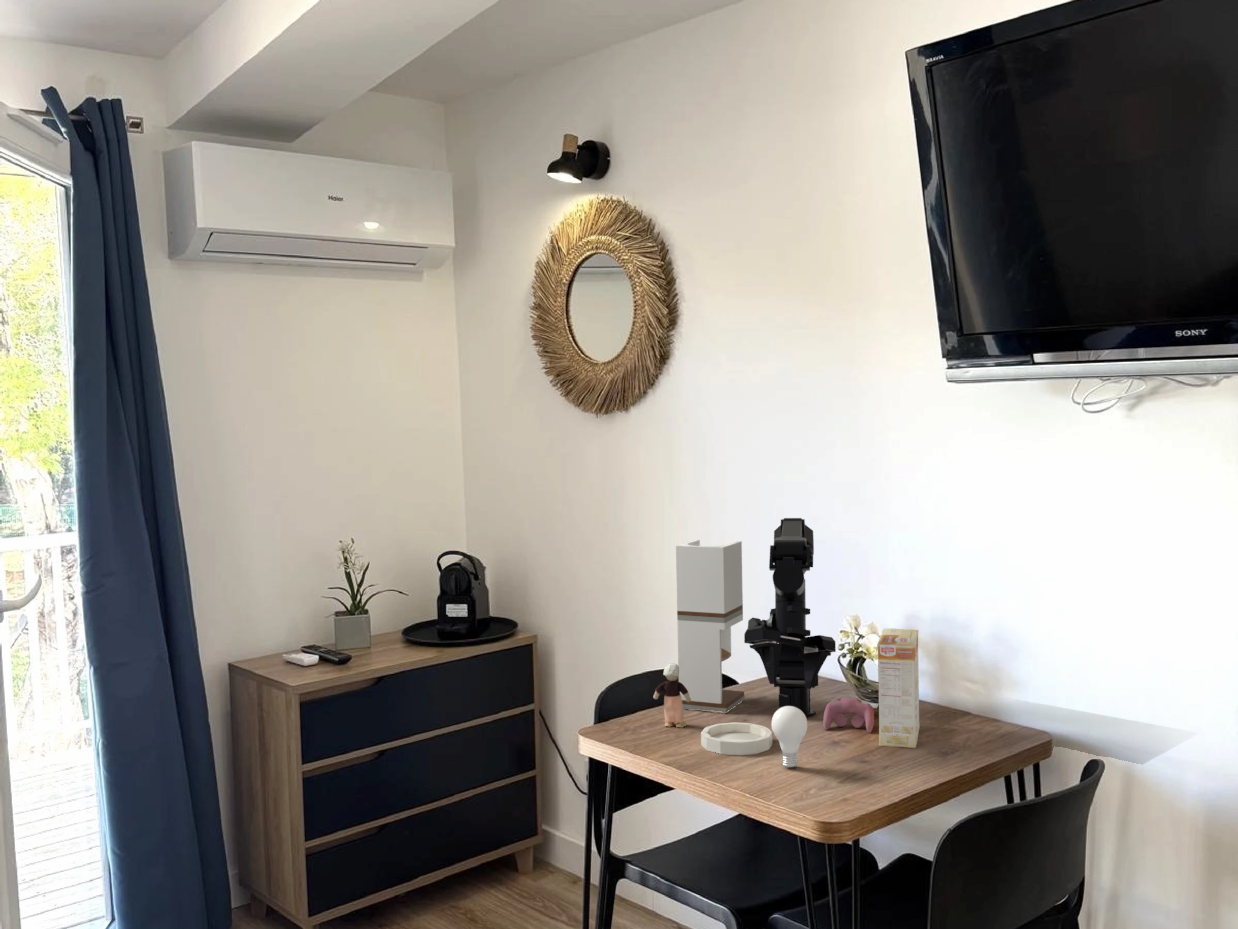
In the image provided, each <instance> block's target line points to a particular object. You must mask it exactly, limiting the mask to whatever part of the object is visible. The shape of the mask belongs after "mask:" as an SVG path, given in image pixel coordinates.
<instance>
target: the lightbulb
mask: <svg viewBox="0 0 1238 929" xmlns="http://www.w3.org/2000/svg"><path fill="white" fill-rule="evenodd" d="M775 711H776V712H775ZM775 711H774V712H775V713H774V712H773V715H772V717H771V721H770V723H771V726H770V727H771V731H772V734H774V736H775V737H776V739H777V740H778V743H779V747H780V749H781V754H782V765H783V767H786V768H787V769H793V768H796V767H797V766H798V757H799V756H798V753H799V749H800V745H801V742H802V740H803V738H804V737H805V735H806V733H807V732H808V731H807V730H808V727H809V726H808V719H807V717H806V716H805V714H804V713H803V712H802V711H801V710H800V709H798V708H797V707H794V706H784V707H781V708H780V709H779V708H778V709H777V710H775Z"/></svg>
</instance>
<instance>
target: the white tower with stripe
mask: <svg viewBox="0 0 1238 929" xmlns="http://www.w3.org/2000/svg"><path fill="white" fill-rule="evenodd" d="M742 543H743V542H742V540H741V541H740V540H739V541H738V540H737V541H735V542H734V541H733V542H732V543H728V544H724V545H723V544H722V545H714V546H712V545H709V546H703V545H701V542H700V539H695V540H691V541H687V542H685V543H681V544H678V545H676V546H675V553H676V554H675V558H676V559H675V560H676V562H675V567H676V568H675V569H676V605H677V606H676V607H677V608H676V609H677V610H676V614H677V615H676V616H677V622H676V623H677V662H678V664H677V665H678V666H679V676H678V682H680V683H682V684H683V685H684V686H685V688H686V689H687V690H688V693H689V697H690V698H691V701H690V702H687V701H686V698H685V697H684V695H683V694H682V693H681V692H680V695H681V698H682V706H683V709H700V710H714V711H722V712H727V711H728V710H730V709H731V708H733V707H734V706H736V705H737V704H738V703H740V702H741V701H743V700H744V701H745V691H743V690H730V689H723V683H722V682H723V671H722V667H723V665H722V662H724V661H727V660H728V659H730V658H731V657H732V627H733V626H735V625H737V624H739V623H740V622H741V621H743V620H744V610H743V609H744V606H743V605H744V603H743V601H744V600H743V597H744V596H743V549H742V548H743V547H742V545H743V544H742ZM744 701H743V702H744Z"/></svg>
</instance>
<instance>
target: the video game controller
mask: <svg viewBox="0 0 1238 929" xmlns="http://www.w3.org/2000/svg"><path fill="white" fill-rule="evenodd" d="M845 714H852V715H853V714H854V715H853V716H852V717H851V725H852V726H853V727H854V728H855V729H861V728H863V726H864V725H865V728H866V729H865V730H866V732H867V733H868V734H871V733H872V731H873V728H874V723H875V709H874V707H873V706H872V705H871V704H870V703H869V702H867V701H865V700H861V699H858V698H854V697H853V698H852V697H842V698H836V699H835V698H834V699H831V700H830V701H829V702H828V703H827V704H826V706H825V708H824V713H823V722H822V726H823V729H824V730H825V731H828V730H829V729H830V728H831V725H832V723H833V720H834V722H835V724H836V726H838V727H840V728H844V727H846V726H847V724H848V719H847V717H846V715H845Z"/></svg>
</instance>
